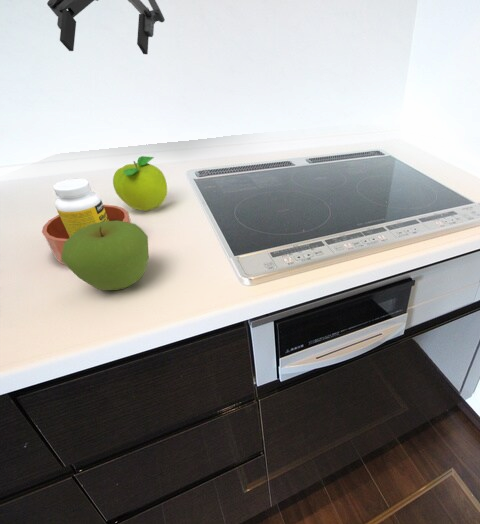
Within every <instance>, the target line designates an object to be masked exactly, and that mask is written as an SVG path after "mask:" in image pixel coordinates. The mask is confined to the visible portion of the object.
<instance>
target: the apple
mask: <svg viewBox="0 0 480 524" xmlns="http://www.w3.org/2000/svg"><path fill="white" fill-rule="evenodd" d="M148 237H149V236H148V235H147V234H146V232H145V231H144V230H143V229H142V228H141V227H140V226H138V225H137V224H136V223H134V222H133V223H129V222H124V221H105V222H100V223H95V224H92V225H89V226H87V227H84V228H82V229H80V230H78V231H77V232H75V233H74V234H73V235H72V236H71V237H70V238H69V239H67V240H66V241H65V242H64V245H63V252H62V259H61V260H62V261H63V262H64V263H65V264H66V265H65V266H67V268H68V269H69V270H70V271H71V272H72V273H73V274H74V275H75V276H76V277H77V278H78V279H80V280H81V281H83V282H85V283H86V284H89V285H90V286H91V287H93V288H95V289H97V290H102V291H119V290H124V289H127V288H129V287H131V286H133V285H134V284H135V283H136V282H138V281H139V280H140V279H141V278H143V276H144V274H145V272H146V269H147V267H148V262H149V258H150V257H149V255H150V254H149V238H148Z"/></svg>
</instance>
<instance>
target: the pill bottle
mask: <svg viewBox="0 0 480 524" xmlns="http://www.w3.org/2000/svg"><path fill="white" fill-rule="evenodd" d="M52 189H53V191H54V193H55V195H56V197H58V198H56V200H55V202H54V206H55V209H56V211H57V215H59V216H60V218H61V220H62V222H63V224H64V226H65V228H66V231H67V233H68V235H69V237H71V236H72V235H73V234H74V233H75V232H77V231H78V230H80V229H82V228H84V227H87V226H89V225H92V224H95V223H100V222H105V221H109V219H108V217H107V214H106V212H105V209H104V206H103V205H104V203H103V201H102V199H101V196H100V195H99V194H97V192H94V191H92V187H91V184H90V182H89V181H88V180H87V179H85V178H67V179H64V180H60V181H57V182H56V183H54V185H53V186H52Z"/></svg>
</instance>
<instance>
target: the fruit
mask: <svg viewBox="0 0 480 524" xmlns="http://www.w3.org/2000/svg"><path fill="white" fill-rule="evenodd" d="M153 159H155V157H153V156H144V155H142V156H139V157H138V158H137V162H136V161H135V160H133V161H132V162H133V163H129V164H128V163H127V164H125V165H124V166H122V167H120V168H118V169H116V171H115V172H114V174H113V178H112V184H113V185H112V186H113V188H114V191H115V194H116V195H117V196H118V198H119V199H121V201H123V203H124V204H125V205H127V206H128V207H130V208H132V209H133V210H137V211H144V212H148V211H151V210H153V209H154V210H155V209H156V208H157V209H158V207H160V206H161V205H162V204H163V202H165V200H166V198H167V195H168V185H167V180H166V176H165V175H164V173H163V171H162V170H160V168H159V167H157V166H155V165H153V164H151V163H150V161H152V160H153Z"/></svg>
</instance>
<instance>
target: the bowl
mask: <svg viewBox="0 0 480 524" xmlns="http://www.w3.org/2000/svg"><path fill="white" fill-rule="evenodd" d="M103 206H104V209H105V212H106V214H107V217H108V219H109V221H124V222H129V223H132V220H131V217H130V214H129V212H128V210H126V209H125V208H124V207H121V206H117V205H110V204H103ZM41 234H42V235H43V237H44V239H45V241H46V243H47V245H48V246H49V249H50V250H51V253H52V254H53V256H54V258H55V260H56V261H57V262H58V263H60V264H61V265H64V266H67V265H66V264H65V263H64V262H63V261H62V260H61V259H62V252H63V245H64V242H65V241H66V240H67V239H69V238H70V237H69V235H68V233H67V231H66V228H65V226H64V224H63V222H62V220H61V218H60V216H59V214H57V215H55V216H54V217H52V218H50V219H49V220H48V221H47V222H46V223H45V224H44V225H43V226H42V230H41Z"/></svg>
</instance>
